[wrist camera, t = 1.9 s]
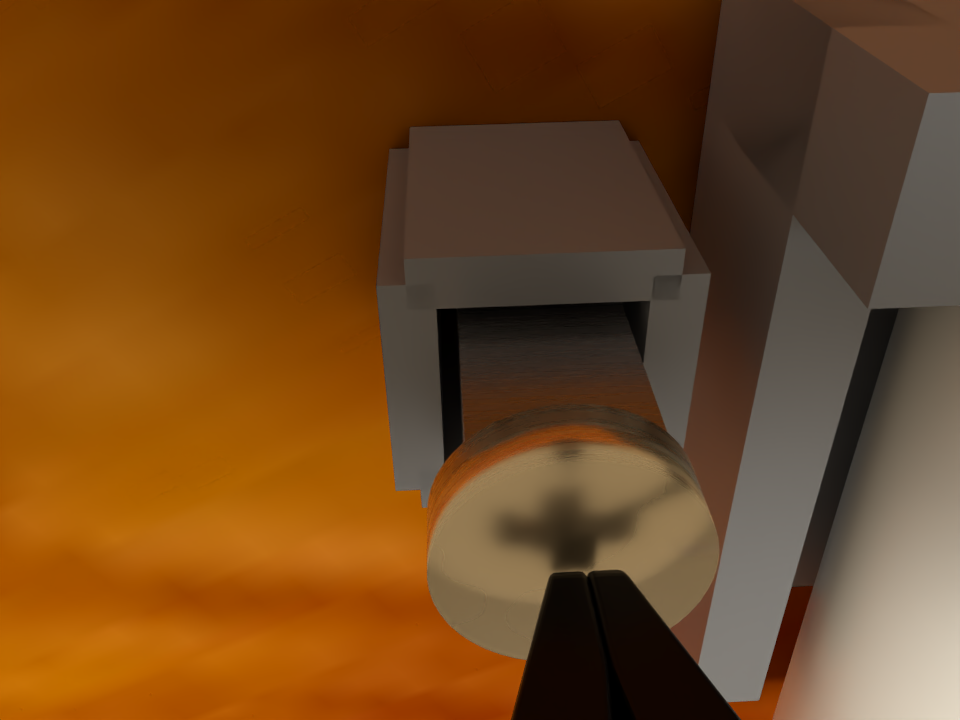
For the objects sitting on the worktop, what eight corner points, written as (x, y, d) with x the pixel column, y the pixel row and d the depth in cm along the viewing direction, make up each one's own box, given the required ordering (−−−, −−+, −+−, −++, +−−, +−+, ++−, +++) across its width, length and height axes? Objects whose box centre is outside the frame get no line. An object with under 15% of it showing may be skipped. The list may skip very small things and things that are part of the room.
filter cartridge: (1176, 138, 15) (1509, 309, 10) (905, 725, 25) (1012, 944, 20) (855, 149, 15) (1050, 328, 10) (712, 735, 25) (777, 958, 20)
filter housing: (1315, -59, 15) (1888, 63, 9) (1026, 528, 23) (1229, 791, 17) (374, -34, 14) (340, 111, 8) (421, 558, 22) (419, 839, 16)
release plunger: (626, 197, 14) (741, 454, 9) (611, 363, 16) (699, 655, 11) (422, 203, 14) (418, 469, 9) (431, 370, 16) (434, 668, 11)
